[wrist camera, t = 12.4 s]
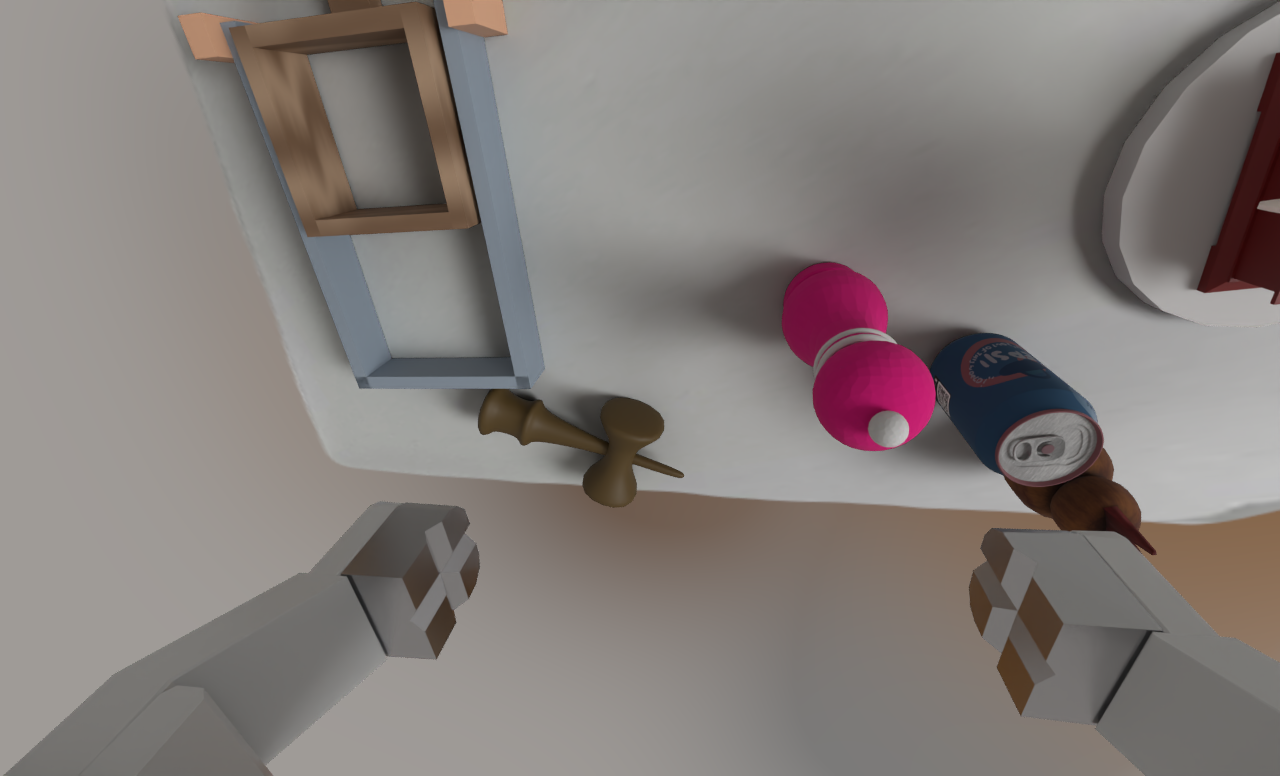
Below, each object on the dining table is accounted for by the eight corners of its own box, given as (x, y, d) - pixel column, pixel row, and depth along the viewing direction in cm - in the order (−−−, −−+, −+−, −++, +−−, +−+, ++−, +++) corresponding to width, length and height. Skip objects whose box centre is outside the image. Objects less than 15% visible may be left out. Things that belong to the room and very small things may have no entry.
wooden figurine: (1006, 401, 43) (1127, 528, 30) (1080, 408, 42) (1238, 542, 29) (977, 465, 46) (1075, 605, 33) (1045, 473, 45) (1173, 619, 32)
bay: (243, 27, 38) (177, 16, 33) (500, -9, 34) (466, -27, 30) (368, 369, 51) (333, 394, 47) (563, 368, 48) (546, 395, 43)
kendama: (505, 349, 48) (703, 419, 48) (492, 427, 53) (672, 490, 53) (476, 379, 43) (698, 457, 43) (465, 462, 48) (664, 532, 48)
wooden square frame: (255, -56, 35) (155, -91, 29) (433, -86, 33) (367, -131, 27) (349, 224, 44) (288, 243, 38) (495, 216, 41) (455, 234, 35)
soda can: (1020, 319, 40) (1125, 394, 29) (1013, 396, 43) (1107, 489, 32) (922, 335, 41) (989, 411, 31) (923, 408, 44) (983, 499, 34)
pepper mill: (777, 344, 43) (811, 500, 26) (776, 260, 40) (813, 375, 23) (868, 338, 42) (967, 498, 25) (873, 250, 39) (993, 364, 21)
